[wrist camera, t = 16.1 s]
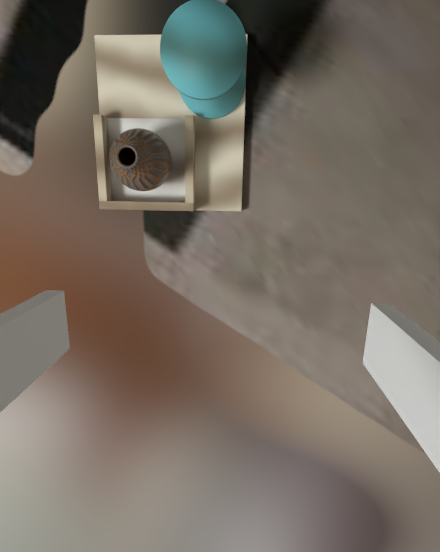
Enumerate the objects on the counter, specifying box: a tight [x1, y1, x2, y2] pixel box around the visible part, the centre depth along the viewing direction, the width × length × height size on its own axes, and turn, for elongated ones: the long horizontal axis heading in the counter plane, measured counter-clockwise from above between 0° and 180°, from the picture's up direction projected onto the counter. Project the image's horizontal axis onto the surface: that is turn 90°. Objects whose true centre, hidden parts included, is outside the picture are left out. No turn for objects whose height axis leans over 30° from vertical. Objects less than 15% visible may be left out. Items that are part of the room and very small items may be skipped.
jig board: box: [93, 0, 247, 211], centre depth 37 cm, size 20×18×11 cm
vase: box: [109, 128, 172, 191], centre depth 38 cm, size 7×7×9 cm
